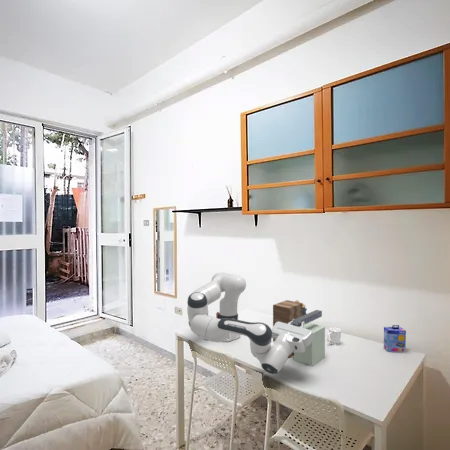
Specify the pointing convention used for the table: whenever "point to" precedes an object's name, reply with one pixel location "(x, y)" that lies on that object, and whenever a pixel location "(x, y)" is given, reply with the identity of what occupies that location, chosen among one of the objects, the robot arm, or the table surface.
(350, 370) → the table surface
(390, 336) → the ink cartridge box
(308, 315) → the metal bar
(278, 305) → the walnut stand
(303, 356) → the sage block
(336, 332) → the cup
